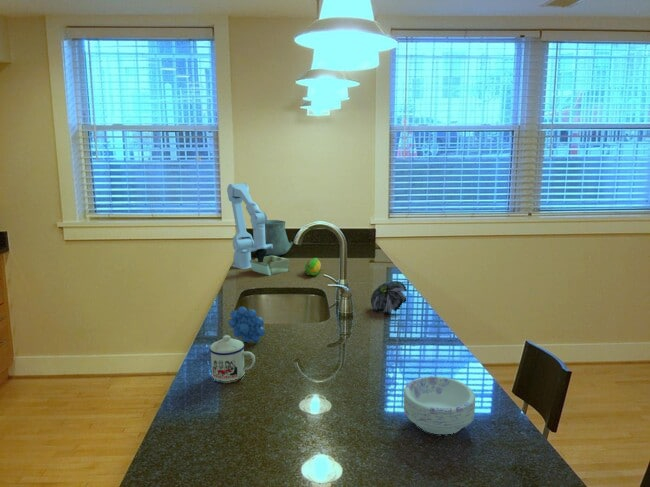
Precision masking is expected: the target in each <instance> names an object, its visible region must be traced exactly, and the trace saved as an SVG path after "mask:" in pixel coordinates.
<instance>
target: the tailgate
mask: <svg viewBox="0 0 650 487" xmlns="http://www.w3.org/2000/svg"><path fill="white" fill-rule="evenodd" d="M250 264H251V270H252V272H256V273H259V274H262V275H266V276H272V275H271V272H270V269H269V266H268V264H266V263H262V262H258V261H255V259H254V260H253V259H251V260H250Z"/></svg>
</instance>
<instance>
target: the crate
mask: <svg viewBox="0 0 650 487" xmlns="http://www.w3.org/2000/svg"><path fill="white" fill-rule="evenodd" d="M254 261H258V259H257V257H256V258H254ZM263 263H266V264H268V266H269V269H270V272H271V275H270V276H273V275H278V274H283V273H286V272H290V259H289V258H284V257H280V256H269V255H266V256H264V259H263Z"/></svg>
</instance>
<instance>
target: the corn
mask: <svg viewBox="0 0 650 487" xmlns="http://www.w3.org/2000/svg"><path fill="white" fill-rule="evenodd" d="M321 266H322V263H321V262H320V260H319V258H317V257H315V258H312V259H311V260H310V261H309V260H308V261H307V262H306V263H305V266H304V271H305V273H306V275H308V276H316V275H318V274H319V273H320V272H321V270H322V269H321Z"/></svg>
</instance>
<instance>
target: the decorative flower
mask: <svg viewBox="0 0 650 487" xmlns="http://www.w3.org/2000/svg"><path fill="white" fill-rule="evenodd" d="M407 291H408V290H407V287H406V285H405V284H404V283H403V282H401V281H397V280H392V281H387V282H384V283H381V284H380V285H379V286H378V287H377V288H376V289H375V290H374V291H373V293H372V294H371V297H370V304H371V305H370V306H371V308H372V311H373V312H374V313H383V314H384V316H390V315H391V314H392V311H394V312H397V310H400V308H401V307H402V304H404V303H406V302H407V296H406V295H405V294H404V293H403V292H407Z"/></svg>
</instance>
